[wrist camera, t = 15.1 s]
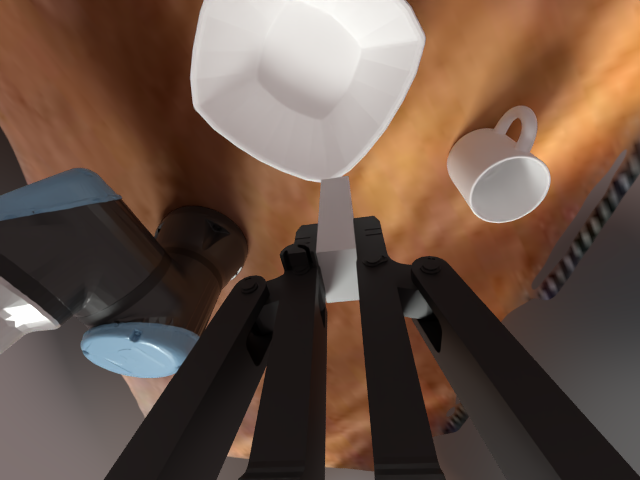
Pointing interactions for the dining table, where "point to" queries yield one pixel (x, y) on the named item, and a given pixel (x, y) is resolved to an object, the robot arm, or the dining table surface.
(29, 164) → the dining table surface
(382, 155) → the dining table surface
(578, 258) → the dining table surface
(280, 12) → the bowl
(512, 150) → the mug
